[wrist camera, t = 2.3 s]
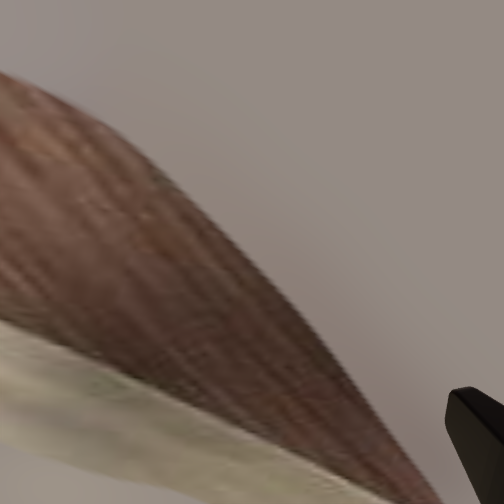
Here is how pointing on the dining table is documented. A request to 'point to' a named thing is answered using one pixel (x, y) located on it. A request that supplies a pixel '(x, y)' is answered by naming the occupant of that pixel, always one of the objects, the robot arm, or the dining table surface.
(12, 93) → the dining table surface
